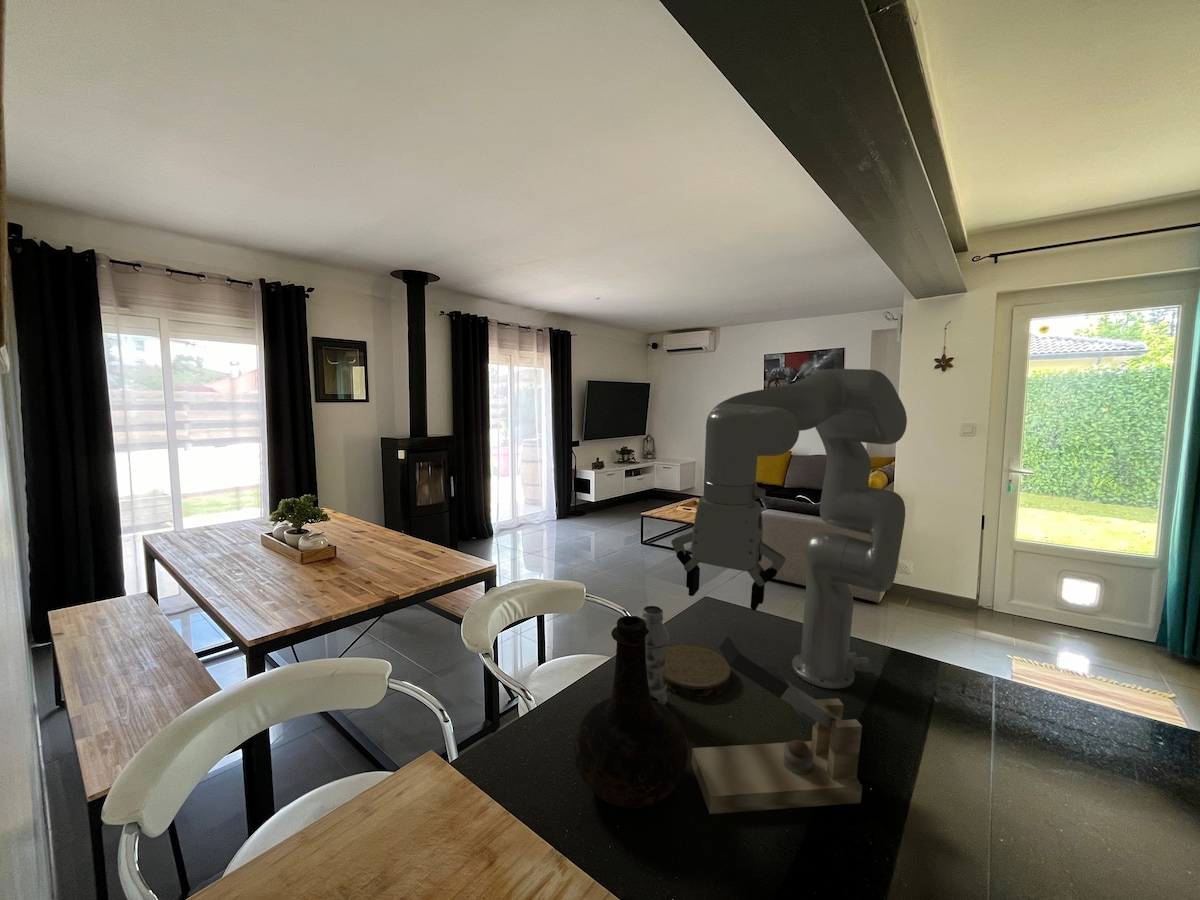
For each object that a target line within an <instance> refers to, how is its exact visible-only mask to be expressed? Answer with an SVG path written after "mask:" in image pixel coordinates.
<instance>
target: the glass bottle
mask: <svg viewBox="0 0 1200 900" xmlns="http://www.w3.org/2000/svg"><path fill="white" fill-rule="evenodd" d="M648 633H649V630H648V629H647V628H646V622H645V621H644V620H643V619H642V617H640V616H637V615H624V616H620V617H619V618H618V620H617V621H616V626H615V627H614V628H613V629H612V630H611V634H610V635H611V636H612V639H613V640H614V641H616V647H615V648H616V649H615V650H616V651H615V664H614V665H615V666H614V677H613V685H612V686H613V687H612V691H611V692H612V693H611V697H608V698H605V699H603V700H601V701H600V702H598V703H596V704H595V705H594V706H593V707H591V708H590V709H589V710H588V711H587V712H586V713H585V714H584V716H583V718H581V721H580V723H579V725H578V727H577V730H576V733H575V737H574V741H573V742H574V746H573V754H574V762H575V767H576V769H577V771H578V772H579V774H580V776H581V778H582V780H583V781H584V783H585V784H586V786H588V788H589V789H590V791H592V792H593V793H595V795H596V796H597V797H599V798H600V799H601V800H602V801H603V800H604V802H606V803H609V804H611V805H613V806H617V807H619V808H624V809H625V808H626V809H641V808H645V807H649V806H652V805H655V804H657V803H659V802H661V801H662V800H664V799H665V798H666V797H668V796H669V795H670V794H671V793H672V792H673V791H674V790H675V789H676V787H677V786H678V784H679V783H680V782H681V780H682V778H683V776H684V773H685V770H686V768H687V764H688V758H689V757H688V756H689V745H688V740H687V736H686V734H685V730H684V728H683V726H682V724H681V722H680V720H679V719H678V718H677V717H676V715H675V714H674V713H673V712H672V711H671V710H670V709H669V708H668V707H667V706H665V705H663V704H661V703H659V702H657V701H658V699H657V698H655V697H653V696H650V691H649V685H648V678H647V667H646V650H645V637H646V635H647V634H648Z"/></svg>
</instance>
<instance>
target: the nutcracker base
mask: <svg viewBox="0 0 1200 900" xmlns="http://www.w3.org/2000/svg"><path fill="white" fill-rule="evenodd" d="M816 700H817V701H818V702H820V703H821V704H823V705H824V706H826V707H827V708H829V709H831V710H832V711H834V712H835V713H836V714H837V715H838V716H839V718H840V719H841V720H834V721H832V725H831V730H829V729H828V728H826V727H825V726H823V725H822V724H820V723H819V722H816V723H815V725H812V733H811V740H809V741H808V740H807V741H805V740H804V741H803V740H800V739H793V740H792V741H788V742H774V743H761V744H759V743H758V744H757V743H756V744H755V743H754V744H743V745H741V744H739V745H725V746H707V747H693V748H691V766H693V767H692V769H694V770H693V772H694V771H695V772H694V775H695V774H696V775H695V778H696V777H697V778H696V780H698V781H697V783H699V784H698V786H699V789H700V792H701V794H702V797H703V799H704V803H705V805H706V808H707V809H706V810H707V812H708V814H709V815H713V814H726V813H727V814H728V813H739V812H756V811H769V810H781V809H784V810H785V809H797V808H811V807H822V806H823V807H825V806H839V805H851V804H852V805H853V804H861V803H862V794H863V785H862V783H861V782H860V780H859V779H858V778H857V777H858V776H857V775H858V768H859V767H858V766H859V761H860V760H859V758H860V749H861V740H862V730H863V726H862V724H861V723H860V722H859V721H858V719H855V718H854V719H843V714H844V703H843V702H842V701H841V700H840V699H839V698H822V699H821V698H820V699H816Z"/></svg>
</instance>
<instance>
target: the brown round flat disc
mask: <svg viewBox="0 0 1200 900" xmlns="http://www.w3.org/2000/svg"><path fill="white" fill-rule="evenodd" d="M665 677H666V685H667V691H669V692H670V693H672V694H674V693H675V695H677V694H678V695H677V696H680V697H682V696H683V697H682V698H689V699H693V698H695V700H696V699H698V700H701V698H702V699H703V698H705V699H706V698H707V699H710V698H714V697H718V696H719V695H720V696H721V694H723V693H725V692H726V691H727V689H728V688H729V686H730V681H731V678H730V677H731V667H730V666H729V664H728V663H727V661H726V659H725V657H724V656H723V654H720V653H718V652H716V651H715V650H713V649H710V648H707V647H704V646H700V645H693V644H678V645H674V646H670V647H669V646H668V647H667V653H666V662H665ZM703 700H704V699H703Z"/></svg>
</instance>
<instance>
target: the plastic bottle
mask: <svg viewBox="0 0 1200 900" xmlns="http://www.w3.org/2000/svg"><path fill="white" fill-rule="evenodd" d="M642 611H643V612H642V617H641V618H642V619H643V620H644V621H645V622H646V628H647V629H648V630H649V633H648V634H647V635H646V637H645V650H646V667H647V678H648V685H649V691H650V696H653V697H655V698H657V699H658V701H657V702H659V703H661V704H663V705H664V706H665V705H666V703H667V700H668V696H669V692H668V691H669V690H667V685H666V677H665V662H666V653H667V648H669V641H670V634H669V632H668V630H667V627H666V626H665V624H664V623H663V620H664V616H663V614H664V611H663V609H662V607H660V606H656V605H648V606H644V608H643V610H642Z"/></svg>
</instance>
